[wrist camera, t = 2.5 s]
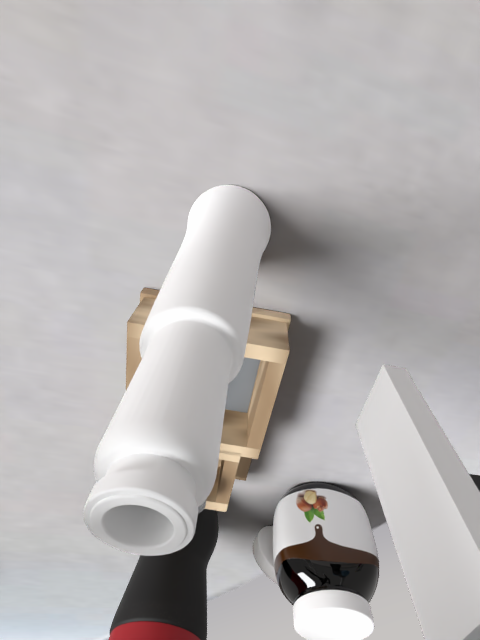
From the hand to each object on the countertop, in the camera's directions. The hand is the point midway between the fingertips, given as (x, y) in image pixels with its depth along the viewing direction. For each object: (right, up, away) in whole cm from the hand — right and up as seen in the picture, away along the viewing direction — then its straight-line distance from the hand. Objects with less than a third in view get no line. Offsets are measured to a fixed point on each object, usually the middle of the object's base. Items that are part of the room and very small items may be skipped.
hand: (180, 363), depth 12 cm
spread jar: (+10, -21, +30) cm, 38 cm away
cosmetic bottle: (+1, +8, +14) cm, 17 cm away
